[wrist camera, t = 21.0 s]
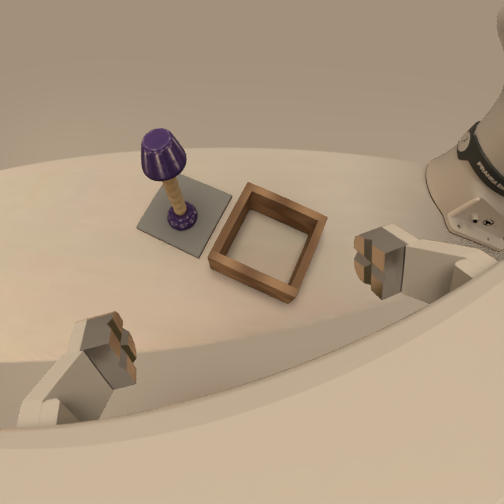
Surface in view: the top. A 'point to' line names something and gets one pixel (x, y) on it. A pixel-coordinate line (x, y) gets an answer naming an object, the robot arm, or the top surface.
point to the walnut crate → (279, 211)
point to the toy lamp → (168, 174)
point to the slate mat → (209, 213)
